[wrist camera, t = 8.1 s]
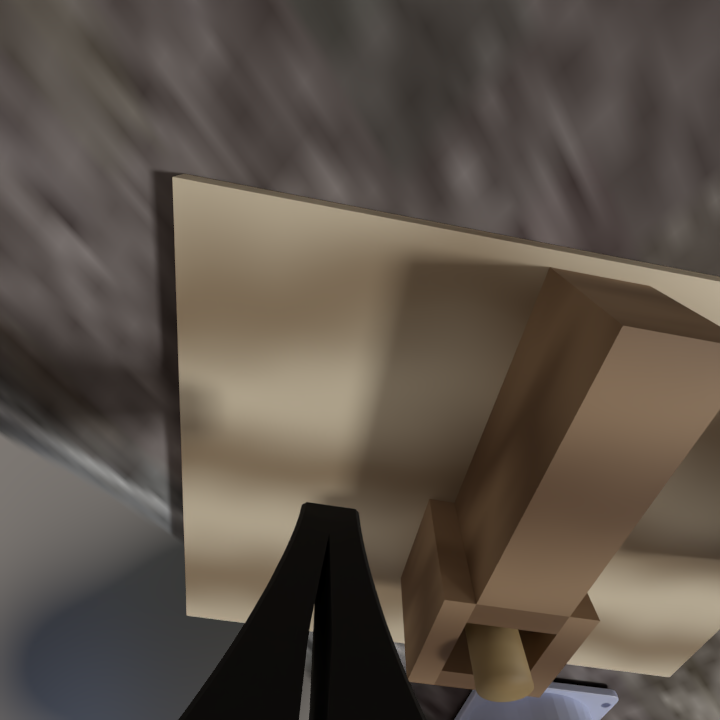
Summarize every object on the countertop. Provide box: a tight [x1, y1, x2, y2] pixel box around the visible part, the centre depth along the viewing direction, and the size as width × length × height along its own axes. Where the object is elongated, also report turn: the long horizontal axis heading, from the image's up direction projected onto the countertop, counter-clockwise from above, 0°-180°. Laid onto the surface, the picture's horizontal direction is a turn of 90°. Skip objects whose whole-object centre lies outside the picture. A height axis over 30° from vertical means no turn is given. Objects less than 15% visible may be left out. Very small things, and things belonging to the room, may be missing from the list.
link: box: [401, 267, 720, 698], centre depth 14 cm, size 14×5×4 cm, turn 170°
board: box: [172, 174, 720, 702], centre depth 15 cm, size 20×25×6 cm
